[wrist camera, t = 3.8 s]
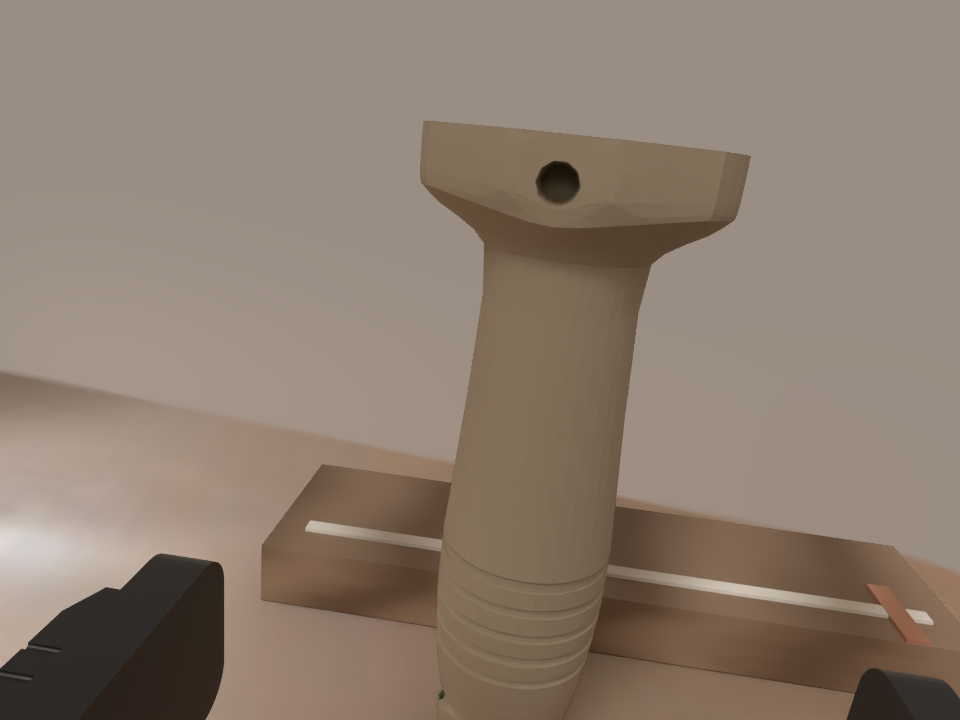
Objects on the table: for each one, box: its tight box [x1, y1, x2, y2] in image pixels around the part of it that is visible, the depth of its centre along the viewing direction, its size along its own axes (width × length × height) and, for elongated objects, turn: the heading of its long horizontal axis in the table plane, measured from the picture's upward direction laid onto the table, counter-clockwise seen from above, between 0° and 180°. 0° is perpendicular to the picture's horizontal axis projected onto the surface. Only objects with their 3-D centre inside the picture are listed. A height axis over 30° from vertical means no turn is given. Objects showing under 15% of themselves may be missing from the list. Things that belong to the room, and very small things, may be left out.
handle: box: [420, 121, 751, 720], centre depth 16 cm, size 5×6×15 cm
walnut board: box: [261, 464, 960, 698], centre depth 24 cm, size 22×6×2 cm, turn 84°
